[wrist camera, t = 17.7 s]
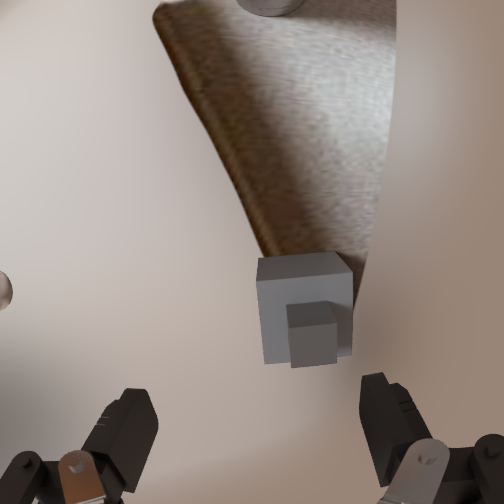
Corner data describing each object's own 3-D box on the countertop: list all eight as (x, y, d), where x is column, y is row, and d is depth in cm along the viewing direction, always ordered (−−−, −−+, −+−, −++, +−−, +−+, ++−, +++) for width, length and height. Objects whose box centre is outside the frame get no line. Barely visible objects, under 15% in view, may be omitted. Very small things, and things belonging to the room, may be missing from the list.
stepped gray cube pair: (258, 258, 39) (253, 301, 25) (334, 251, 38) (367, 290, 25) (265, 327, 41) (264, 393, 27) (336, 320, 40) (363, 381, 27)
